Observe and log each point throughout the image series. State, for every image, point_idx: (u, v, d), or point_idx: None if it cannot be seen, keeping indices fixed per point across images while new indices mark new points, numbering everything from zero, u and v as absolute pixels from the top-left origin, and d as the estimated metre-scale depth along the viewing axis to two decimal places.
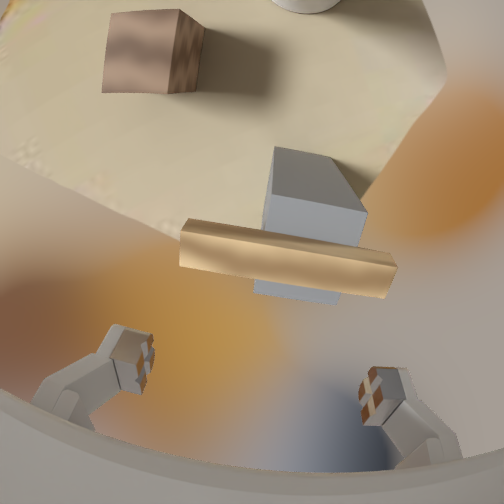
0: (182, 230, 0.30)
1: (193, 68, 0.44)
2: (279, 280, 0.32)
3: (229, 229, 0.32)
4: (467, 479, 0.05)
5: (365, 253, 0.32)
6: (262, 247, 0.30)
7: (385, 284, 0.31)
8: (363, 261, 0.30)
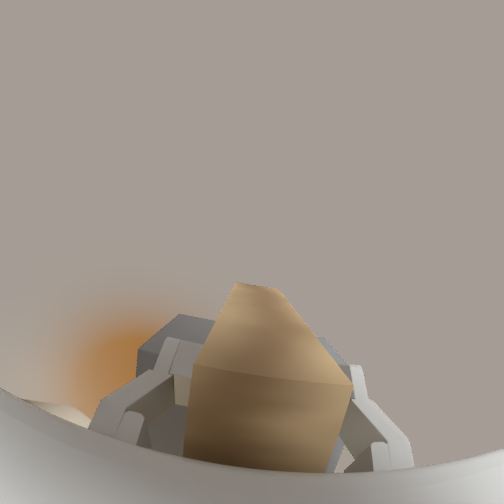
0: (194, 367, 0.07)
1: None
2: (293, 312, 0.17)
3: None
4: (467, 480, 0.05)
5: None
6: (230, 309, 0.15)
7: (259, 286, 0.29)
8: (233, 287, 0.25)
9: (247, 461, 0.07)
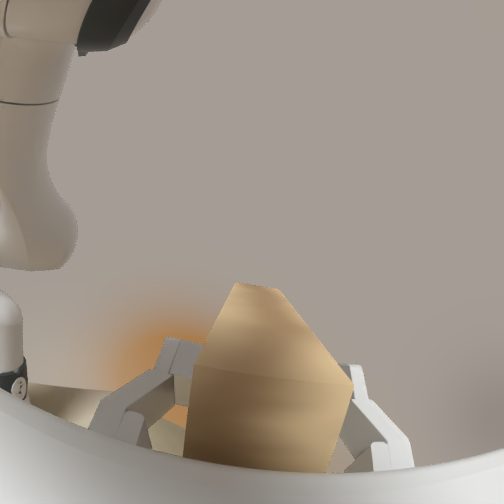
0: (194, 367, 0.07)
1: None
2: (293, 312, 0.17)
3: None
4: (467, 480, 0.05)
5: None
6: (230, 309, 0.15)
7: (259, 286, 0.29)
8: (233, 287, 0.25)
9: (248, 461, 0.07)
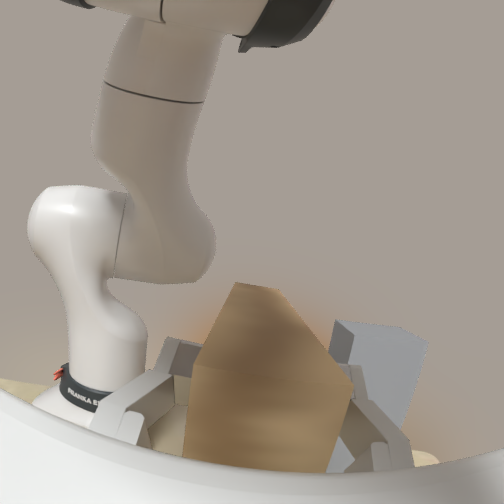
0: (194, 367, 0.07)
1: None
2: (293, 312, 0.17)
3: None
4: (467, 479, 0.05)
5: None
6: (229, 309, 0.15)
7: (259, 286, 0.29)
8: (233, 287, 0.25)
9: (247, 461, 0.07)
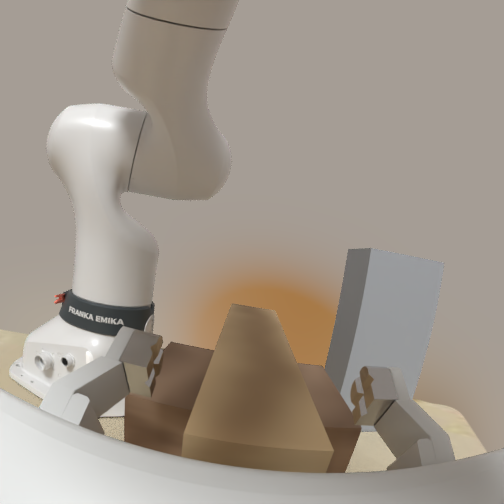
0: None
1: None
2: (286, 346, 0.17)
3: None
4: (467, 480, 0.05)
5: None
6: (223, 349, 0.15)
7: (255, 308, 0.28)
8: (229, 312, 0.25)
9: None
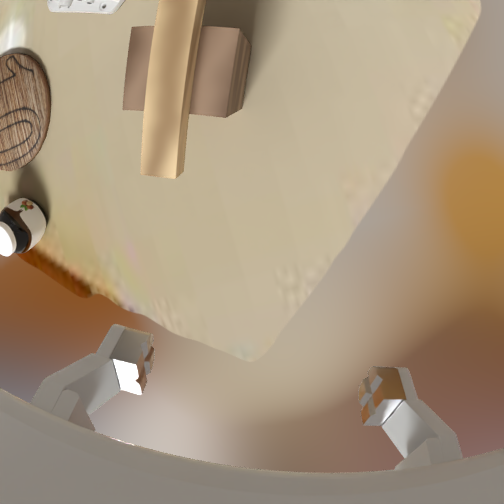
0: (141, 172, 0.32)
1: None
2: (182, 80, 0.27)
3: None
4: (467, 480, 0.05)
5: None
6: (148, 100, 0.28)
7: None
8: (158, 8, 0.23)
9: None
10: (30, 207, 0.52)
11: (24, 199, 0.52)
